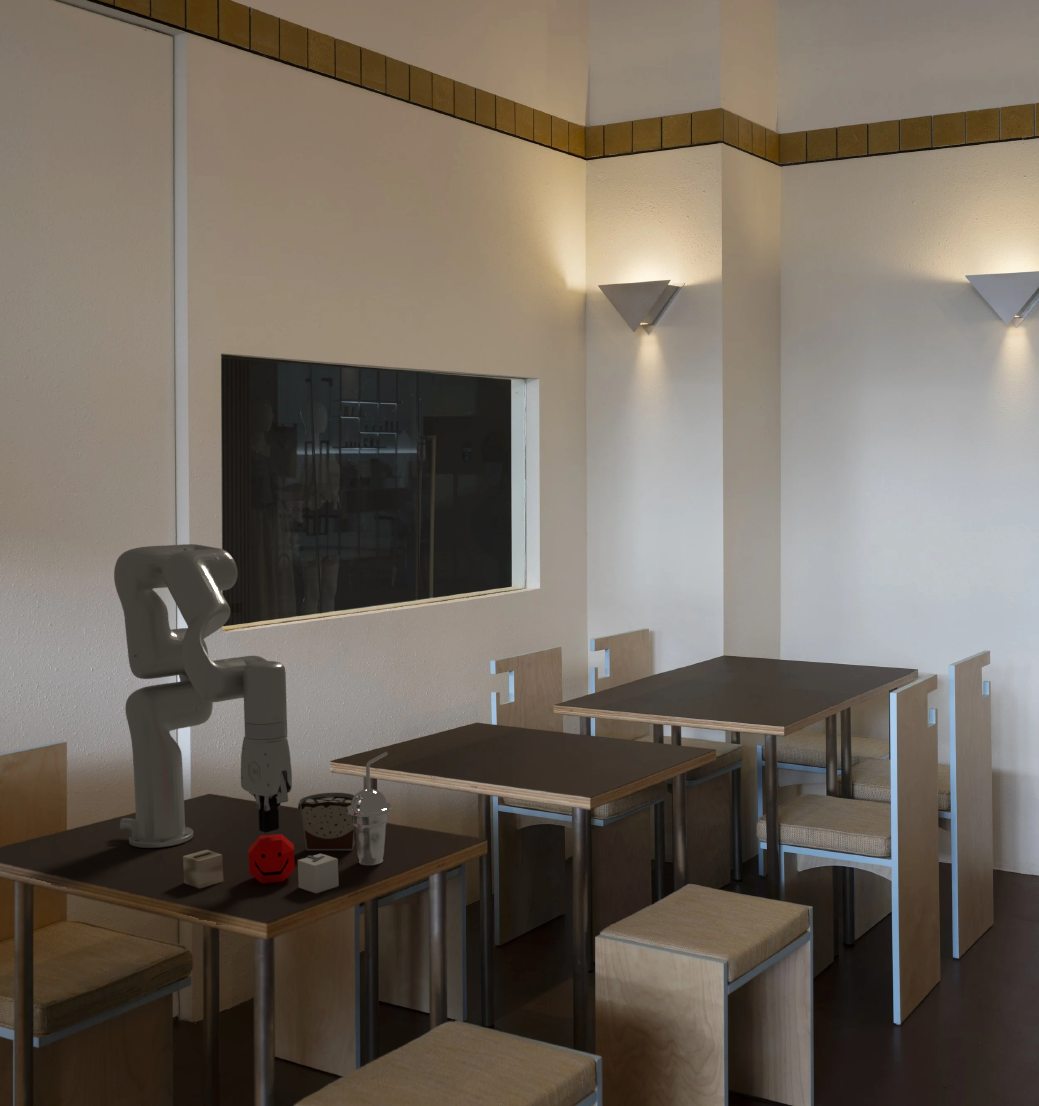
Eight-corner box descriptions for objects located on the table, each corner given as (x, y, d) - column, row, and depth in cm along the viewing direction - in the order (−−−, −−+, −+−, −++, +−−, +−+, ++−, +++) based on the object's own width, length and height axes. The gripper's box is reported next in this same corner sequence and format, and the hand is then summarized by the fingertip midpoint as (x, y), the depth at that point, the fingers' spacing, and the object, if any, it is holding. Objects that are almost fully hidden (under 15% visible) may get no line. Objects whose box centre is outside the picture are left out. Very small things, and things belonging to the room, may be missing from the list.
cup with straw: (342, 859, 232) (338, 755, 231) (387, 851, 236) (383, 749, 235) (356, 871, 224) (352, 764, 223) (402, 863, 228) (399, 758, 227)
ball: (249, 888, 217) (247, 846, 216) (250, 874, 224) (248, 833, 224) (295, 884, 218) (293, 842, 218) (294, 870, 226) (292, 830, 226)
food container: (367, 841, 243) (365, 791, 243) (360, 850, 237) (358, 799, 237) (307, 841, 245) (305, 791, 244) (298, 850, 239) (296, 799, 238)
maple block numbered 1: (184, 883, 221) (182, 855, 220) (208, 876, 224) (207, 848, 224) (199, 889, 217) (197, 860, 217) (223, 881, 221) (222, 853, 221)
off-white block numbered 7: (298, 887, 216) (296, 859, 216) (320, 880, 220) (319, 852, 220) (315, 893, 213) (314, 864, 213) (338, 886, 216) (337, 857, 216)
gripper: (224, 728, 222) (228, 827, 224) (273, 739, 212) (276, 843, 213) (259, 721, 228) (262, 818, 229) (308, 732, 217) (310, 833, 219)
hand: (269, 830), depth 221 cm, fingers closed
